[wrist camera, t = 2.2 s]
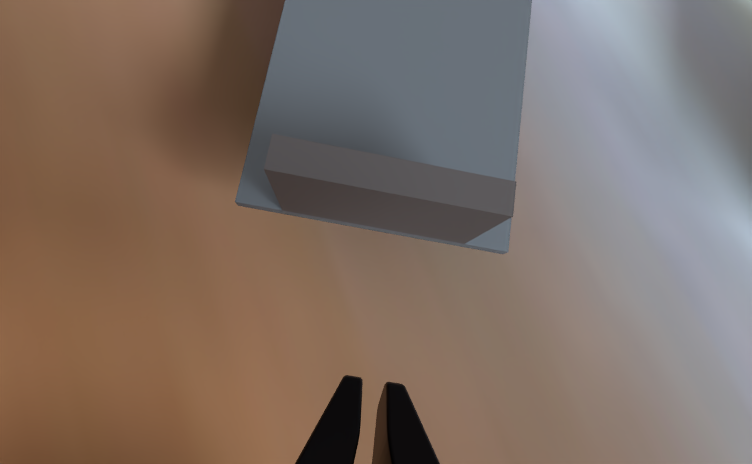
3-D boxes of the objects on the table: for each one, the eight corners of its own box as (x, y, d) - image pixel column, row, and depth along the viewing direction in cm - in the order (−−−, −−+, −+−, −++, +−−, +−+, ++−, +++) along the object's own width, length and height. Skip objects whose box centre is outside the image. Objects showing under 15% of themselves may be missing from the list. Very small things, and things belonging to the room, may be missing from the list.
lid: (502, 254, 19) (572, 227, 13) (238, 205, 18) (198, 156, 13) (527, -4, 22) (592, -110, 17) (302, -55, 21) (292, -185, 16)
